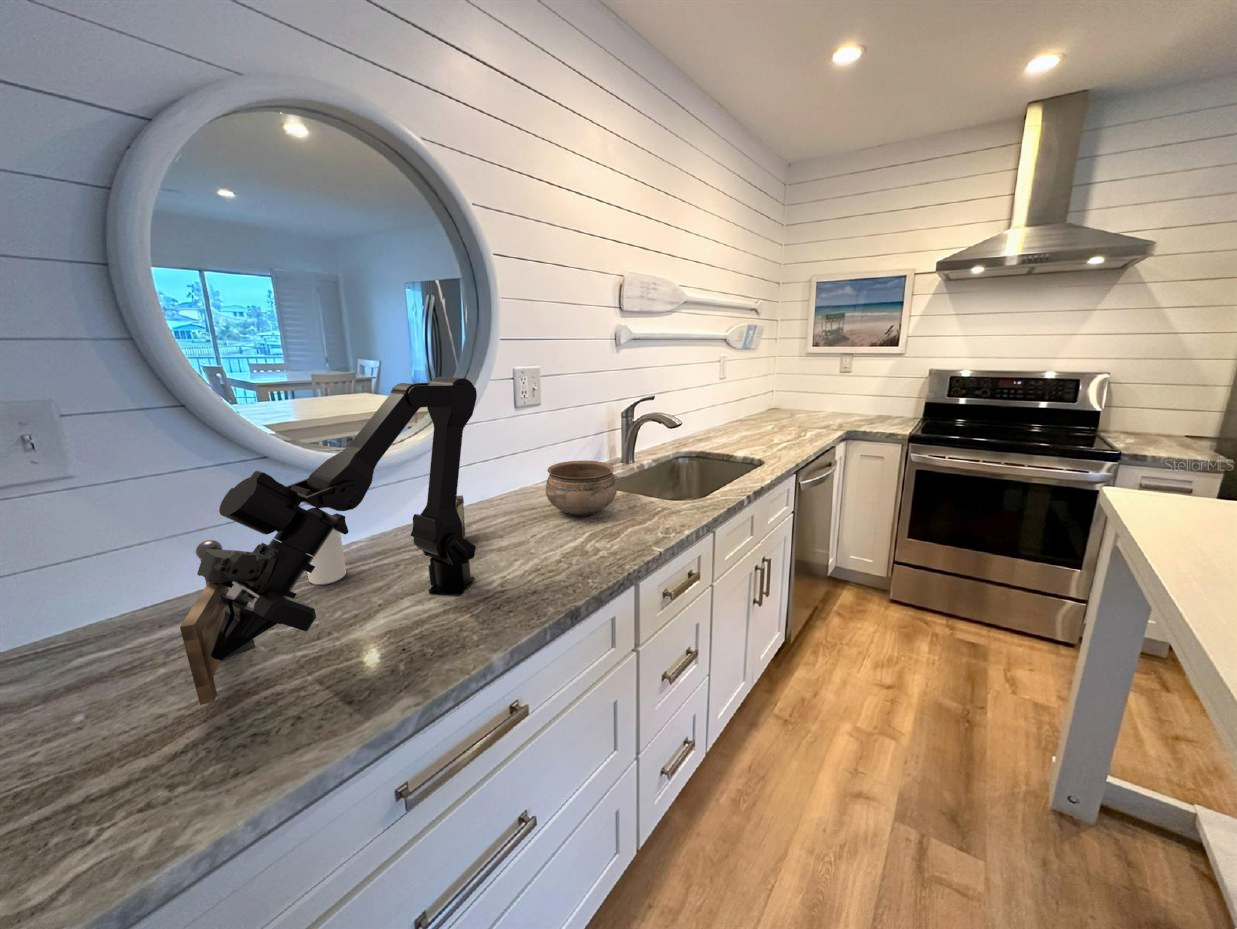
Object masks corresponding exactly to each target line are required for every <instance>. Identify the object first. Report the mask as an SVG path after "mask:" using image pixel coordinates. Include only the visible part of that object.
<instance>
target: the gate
mask: <svg viewBox="0 0 1237 929" xmlns="http://www.w3.org/2000/svg"><path fill="white" fill-rule="evenodd" d="M220 593H224V594H227V593H228V588H227V586H224V585H222V583H219V584H218V585H215V584H212V583H211V582H209V583H208V584H207V586H205V588H204V589H203V590H202V592H201V594H200V596H199V597H198V598H197V599H196V601H195V603H194V605H193V606H192V608H191V609H190V611H189V613H188V614H187V615H186V617H185V619H184V620H183V622H182V623H181V625H180V626H179V630H180V633H181V637H182V642H183V644H184V648H185V653H186V656H187V661H188V664H189V668H190V671H191V676H192V679H193V683H194V686H195V691H196V694H197V698H198V703H199V706H203V705H206V704H210V703H214V702H215V701H216V698H217V695H218V691H217V688H216V683H215V678H214V676H215V675H216V672H217V671H218V668H219V665H220V663H221V662H222V661H221V660H217V659H214V658H213V657H212V656H211V654H212V651H213V648H214V645H215V643H216V640H217V637H218V634H219V631H220V628H221V625H222V622H223V619H224V615H225V611H226V610H225V606H224V603H223V601H222V598H221V597H220Z"/></svg>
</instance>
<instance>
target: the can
mask: <svg viewBox="0 0 1237 929" xmlns="http://www.w3.org/2000/svg"><path fill="white" fill-rule="evenodd" d="M344 554H345V553H344V548H343V541H342V535H341V533H340V532H337V531H335V530H332V532H331V533H330V535H329V536H328V538H327V539H326V541H325V542H324V544H323V545H322V547H321V548H320V549H319V551H318V552H317V554H316V555H315V557H314V556H312V557H314V558H313V560H312V561H311V563H310V564H311V565H313V566H315V568H314V570H313V571H312V573H309V572H307V571H306V572H307V577H308V581H309V583H310V584H312V585H314V586H315V585H316V586H325V585H331V584H333V583H336V582H338V581H340V580H342V579H343V578H344V577H345V575H346V574H347V569H346V561H345V555H344ZM308 555H309V554H308ZM310 556H311V555H310Z"/></svg>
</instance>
